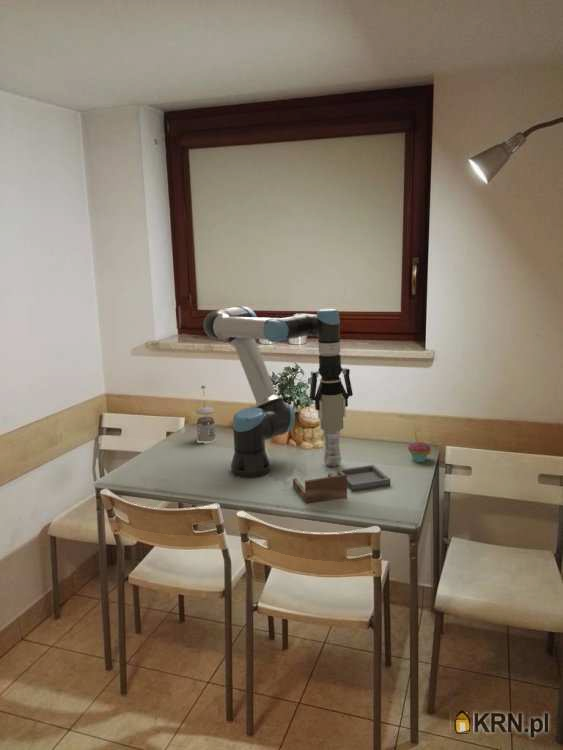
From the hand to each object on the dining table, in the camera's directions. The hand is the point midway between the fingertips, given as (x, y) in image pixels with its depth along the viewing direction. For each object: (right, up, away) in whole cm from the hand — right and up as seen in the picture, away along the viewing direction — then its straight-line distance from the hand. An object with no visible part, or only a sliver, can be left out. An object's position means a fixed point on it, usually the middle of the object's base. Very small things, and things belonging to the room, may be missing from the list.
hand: (331, 417), depth 217 cm
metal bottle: (+2, -20, +20) cm, 28 cm away
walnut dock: (-5, -26, -4) cm, 27 cm away
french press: (-51, -14, +53) cm, 75 cm away
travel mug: (0, -4, +1) cm, 4 cm away
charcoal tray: (+12, -23, +4) cm, 26 cm away
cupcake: (+36, -18, +22) cm, 46 cm away
